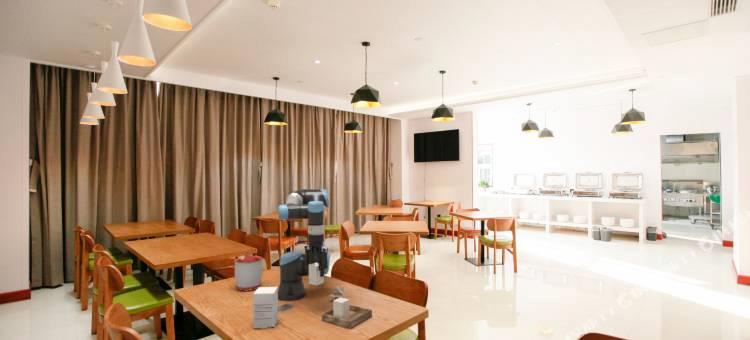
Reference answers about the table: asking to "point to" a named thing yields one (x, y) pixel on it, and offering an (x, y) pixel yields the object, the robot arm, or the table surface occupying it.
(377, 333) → the table surface
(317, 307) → the table surface
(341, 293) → the architectural model
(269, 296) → the supplement box
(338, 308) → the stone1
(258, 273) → the grey bucket
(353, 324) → the brown wooden tray
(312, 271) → the white upright block piece
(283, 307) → the trowel
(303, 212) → the robot arm
